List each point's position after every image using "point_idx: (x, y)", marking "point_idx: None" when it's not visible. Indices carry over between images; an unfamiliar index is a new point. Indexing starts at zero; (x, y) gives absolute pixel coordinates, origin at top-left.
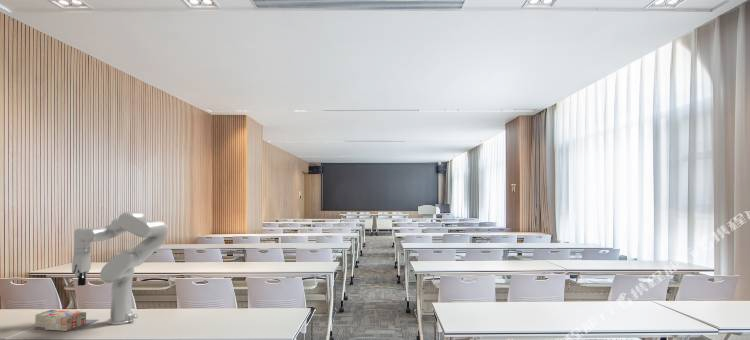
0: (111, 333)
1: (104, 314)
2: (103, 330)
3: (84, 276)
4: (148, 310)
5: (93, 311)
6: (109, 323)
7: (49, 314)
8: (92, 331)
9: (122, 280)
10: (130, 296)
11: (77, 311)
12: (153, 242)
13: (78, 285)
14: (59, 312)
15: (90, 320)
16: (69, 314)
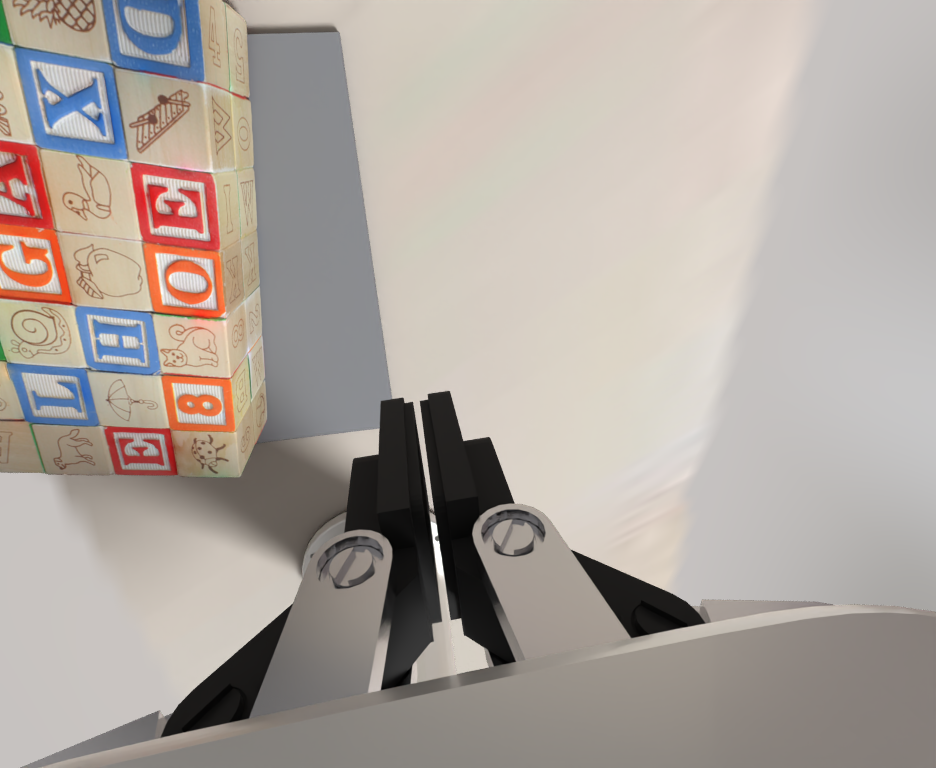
0: (152, 649)
1: (559, 360)
2: (187, 587)
3: (482, 640)
4: (637, 552)
5: (669, 202)
6: (305, 553)
7: (1, 151)
8: (145, 549)
9: None
10: None
11: (227, 397)
12: None
13: (383, 406)
14: (127, 224)
15: (363, 388)
16: (97, 403)
